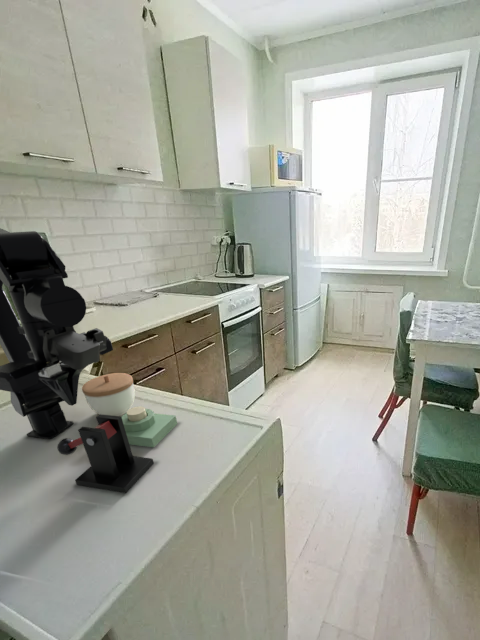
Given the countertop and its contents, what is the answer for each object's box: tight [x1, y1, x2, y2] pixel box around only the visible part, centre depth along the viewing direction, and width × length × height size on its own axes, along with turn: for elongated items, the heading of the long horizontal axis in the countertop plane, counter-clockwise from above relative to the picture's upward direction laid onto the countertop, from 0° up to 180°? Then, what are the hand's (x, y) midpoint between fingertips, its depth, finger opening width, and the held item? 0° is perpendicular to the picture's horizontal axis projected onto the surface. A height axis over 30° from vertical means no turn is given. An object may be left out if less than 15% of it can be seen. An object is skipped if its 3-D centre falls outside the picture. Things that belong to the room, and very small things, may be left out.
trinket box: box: [81, 372, 136, 416], centre depth 82 cm, size 11×11×9 cm
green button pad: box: [121, 408, 178, 448], centre depth 75 cm, size 12×9×4 cm
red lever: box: [56, 421, 117, 456], centre depth 61 cm, size 13×3×3 cm, turn 75°
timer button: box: [127, 405, 147, 422], centre depth 74 cm, size 4×4×2 cm
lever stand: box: [74, 414, 155, 494], centre depth 61 cm, size 10×8×11 cm
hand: (72, 404), depth 63 cm, fingers closed
